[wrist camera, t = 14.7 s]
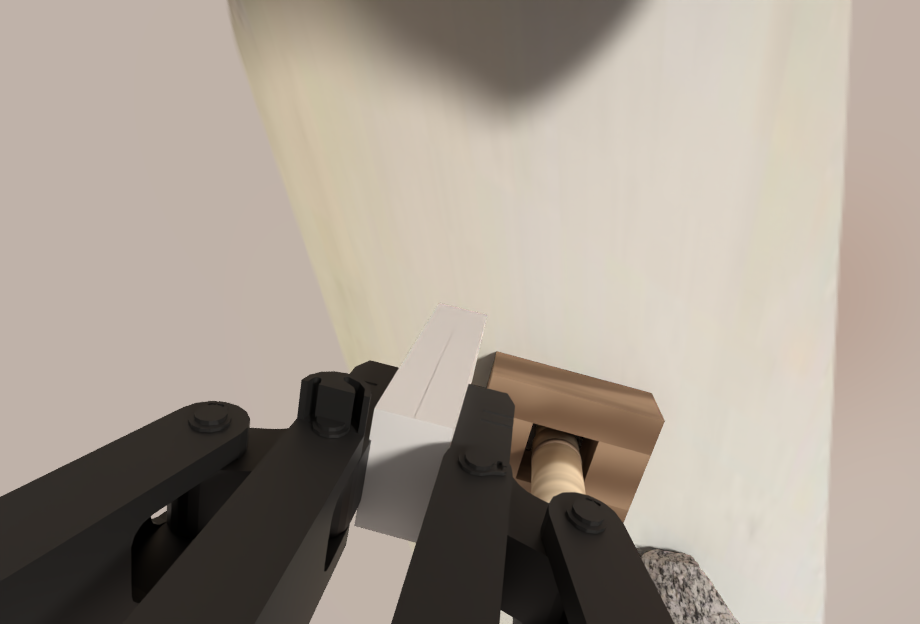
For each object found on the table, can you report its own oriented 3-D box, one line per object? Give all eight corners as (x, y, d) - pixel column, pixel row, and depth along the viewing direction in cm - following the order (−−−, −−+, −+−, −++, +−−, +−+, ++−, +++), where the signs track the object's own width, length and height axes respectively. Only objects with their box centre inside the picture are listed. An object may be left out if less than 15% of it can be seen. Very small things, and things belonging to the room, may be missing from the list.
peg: (538, 404, 49) (539, 500, 36) (582, 417, 49) (600, 518, 36) (526, 442, 50) (523, 549, 37) (569, 455, 50) (581, 566, 37)
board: (496, 351, 48) (492, 374, 43) (651, 393, 47) (664, 421, 43) (465, 463, 52) (458, 495, 47) (608, 504, 51) (615, 541, 46)
